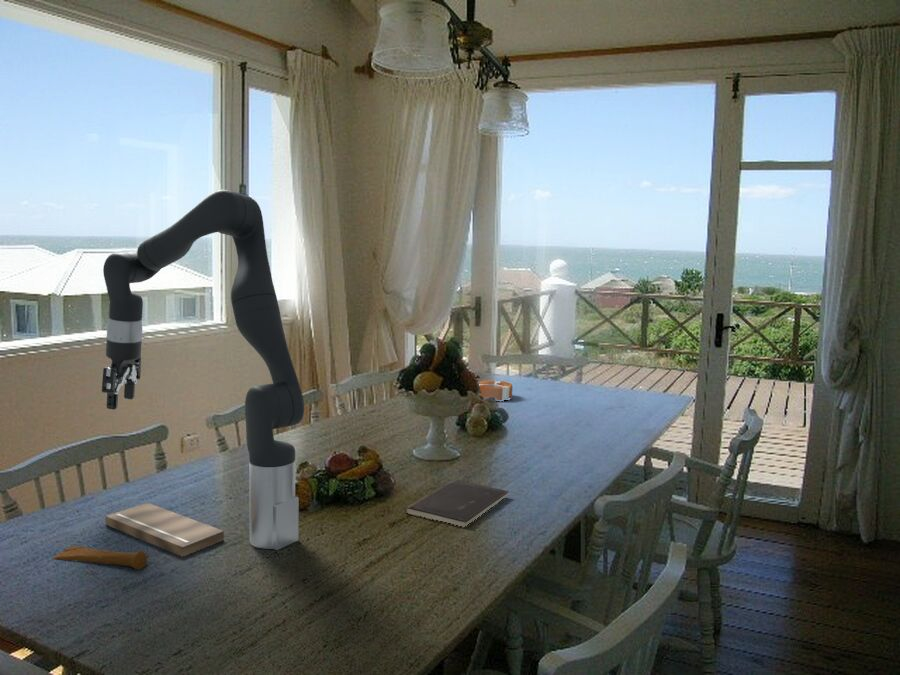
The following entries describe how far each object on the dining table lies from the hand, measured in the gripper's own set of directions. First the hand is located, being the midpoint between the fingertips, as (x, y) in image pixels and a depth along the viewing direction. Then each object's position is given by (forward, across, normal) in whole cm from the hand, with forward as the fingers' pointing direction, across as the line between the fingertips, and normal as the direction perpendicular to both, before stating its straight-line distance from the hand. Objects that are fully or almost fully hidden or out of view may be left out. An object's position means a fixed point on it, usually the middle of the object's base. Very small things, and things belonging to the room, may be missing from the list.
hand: (120, 403), depth 171 cm
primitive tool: (+19, -37, -14) cm, 44 cm away
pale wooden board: (+19, -23, -21) cm, 36 cm away
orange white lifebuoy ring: (+19, +120, -97) cm, 155 cm away
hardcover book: (+14, 0, -83) cm, 84 cm away
